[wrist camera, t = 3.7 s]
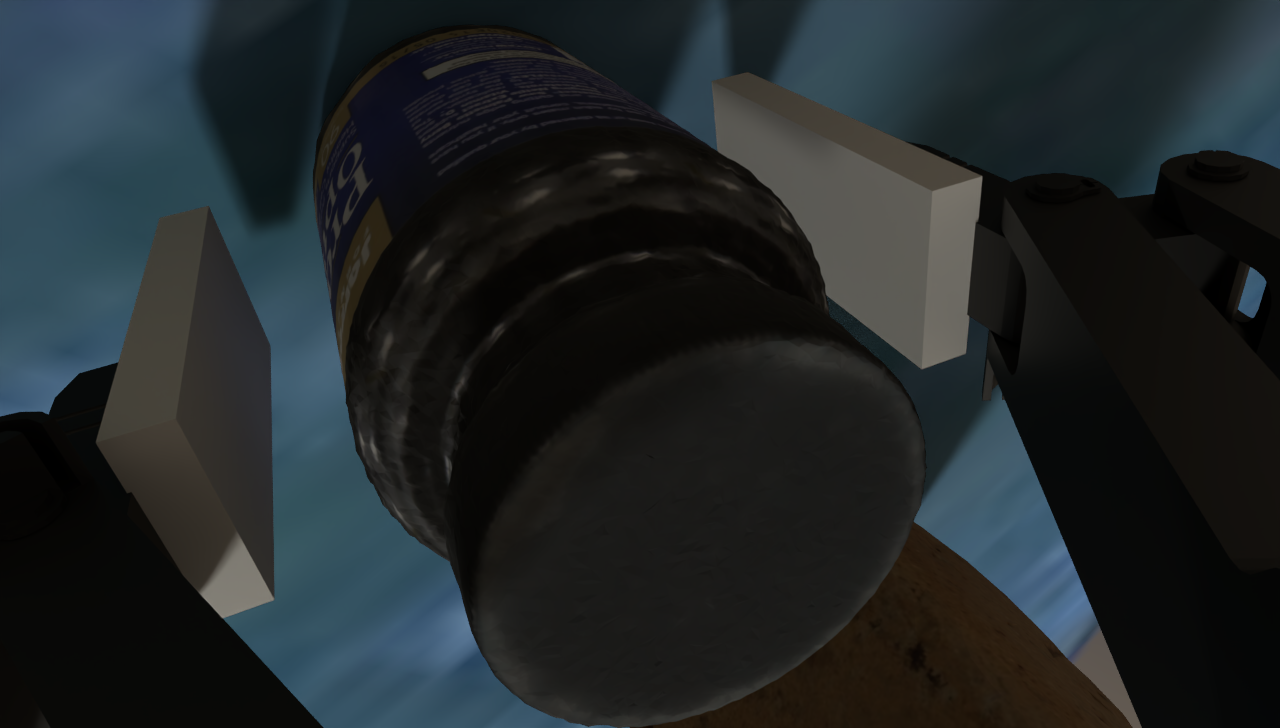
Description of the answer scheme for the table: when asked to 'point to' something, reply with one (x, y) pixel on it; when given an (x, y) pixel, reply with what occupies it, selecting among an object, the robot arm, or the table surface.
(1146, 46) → the table surface
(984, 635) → the block
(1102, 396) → the robot arm
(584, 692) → the pill bottle
